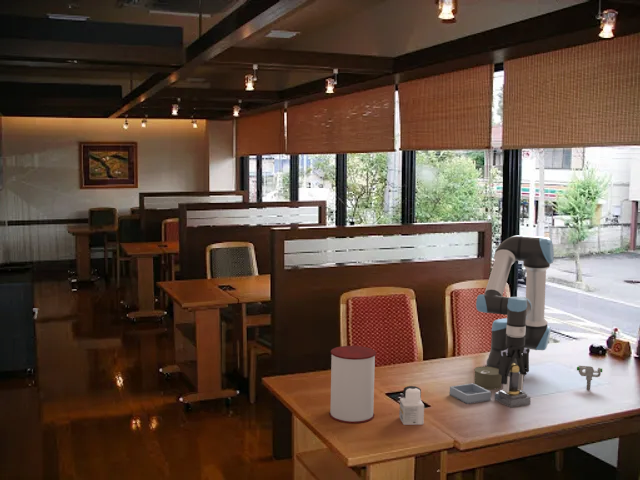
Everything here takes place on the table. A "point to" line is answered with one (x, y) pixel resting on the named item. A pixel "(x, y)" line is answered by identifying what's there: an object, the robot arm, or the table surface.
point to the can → (487, 378)
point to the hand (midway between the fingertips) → (512, 390)
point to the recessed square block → (512, 399)
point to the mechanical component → (588, 373)
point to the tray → (470, 393)
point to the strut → (514, 379)
